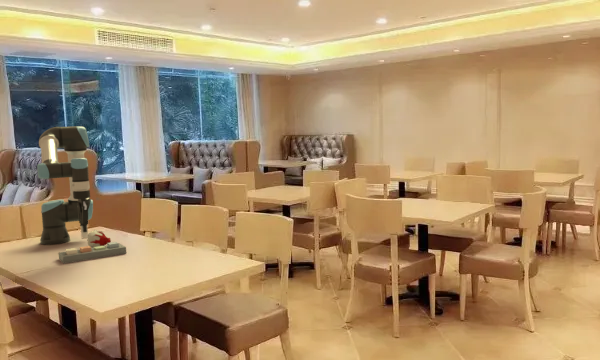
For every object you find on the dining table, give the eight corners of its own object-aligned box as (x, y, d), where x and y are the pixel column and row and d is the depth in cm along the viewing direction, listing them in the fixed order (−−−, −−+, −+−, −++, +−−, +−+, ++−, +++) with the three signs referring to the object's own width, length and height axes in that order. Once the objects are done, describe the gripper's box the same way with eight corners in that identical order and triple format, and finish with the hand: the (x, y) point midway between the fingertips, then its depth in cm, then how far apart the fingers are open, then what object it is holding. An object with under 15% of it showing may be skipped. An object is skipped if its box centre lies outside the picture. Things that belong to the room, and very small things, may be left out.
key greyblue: (107, 248, 255) (107, 243, 255) (116, 246, 258) (116, 241, 258) (109, 249, 252) (109, 244, 252) (118, 248, 254) (118, 243, 254)
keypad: (58, 259, 246) (58, 252, 245) (119, 249, 262) (119, 243, 262) (63, 263, 237) (63, 256, 236) (126, 253, 253) (126, 247, 253)
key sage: (94, 252, 252) (93, 247, 252) (103, 250, 254) (102, 245, 254) (96, 253, 248) (96, 248, 248) (105, 252, 251) (105, 247, 251)
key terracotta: (80, 252, 248) (79, 247, 248) (89, 250, 250) (89, 245, 250) (82, 254, 244) (81, 248, 244) (91, 252, 247) (91, 247, 247)
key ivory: (65, 254, 244) (65, 249, 244) (75, 253, 247) (75, 247, 246) (67, 256, 241) (67, 250, 240) (77, 254, 243) (77, 249, 243)
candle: (89, 244, 275) (116, 247, 274) (78, 248, 264) (106, 252, 263) (90, 227, 275) (116, 230, 273) (79, 231, 263) (107, 235, 262)
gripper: (70, 189, 248) (73, 237, 250) (76, 191, 237) (79, 241, 239) (86, 188, 252) (89, 235, 254) (92, 190, 241) (96, 239, 244)
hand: (84, 238), depth 247 cm, fingers closed
